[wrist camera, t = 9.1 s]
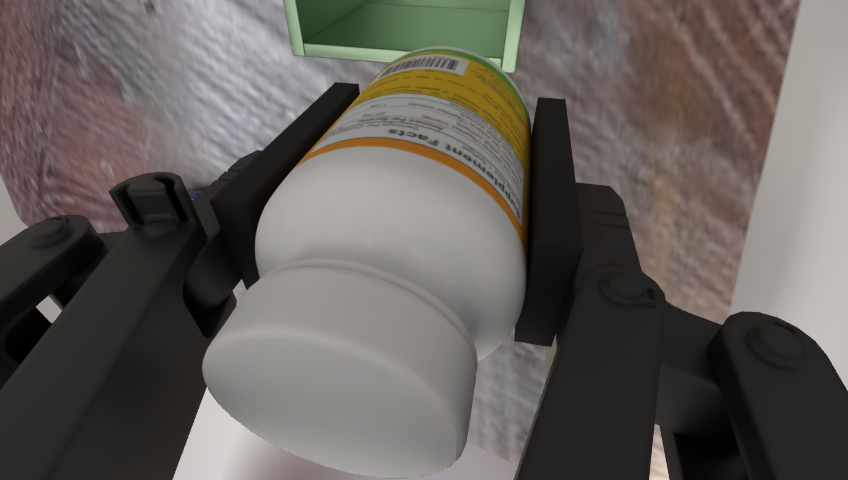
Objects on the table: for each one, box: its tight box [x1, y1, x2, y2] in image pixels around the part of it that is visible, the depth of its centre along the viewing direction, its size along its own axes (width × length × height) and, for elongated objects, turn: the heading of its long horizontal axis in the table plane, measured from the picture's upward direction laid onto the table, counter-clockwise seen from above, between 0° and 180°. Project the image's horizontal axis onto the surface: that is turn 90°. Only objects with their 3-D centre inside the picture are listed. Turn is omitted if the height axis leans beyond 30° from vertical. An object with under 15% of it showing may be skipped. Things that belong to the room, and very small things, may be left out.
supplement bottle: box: [202, 46, 531, 478], centre depth 10 cm, size 5×5×10 cm
